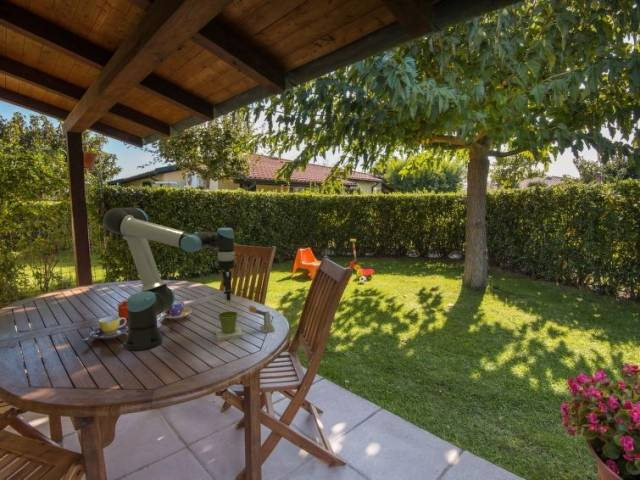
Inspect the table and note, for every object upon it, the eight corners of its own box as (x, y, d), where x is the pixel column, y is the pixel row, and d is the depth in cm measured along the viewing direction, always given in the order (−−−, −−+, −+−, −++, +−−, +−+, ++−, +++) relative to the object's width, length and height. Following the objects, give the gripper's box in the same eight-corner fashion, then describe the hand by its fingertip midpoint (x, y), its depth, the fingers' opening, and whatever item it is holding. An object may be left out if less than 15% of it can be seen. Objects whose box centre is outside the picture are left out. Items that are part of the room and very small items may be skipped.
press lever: (249, 312, 170) (251, 307, 170) (248, 309, 174) (250, 305, 174) (268, 318, 173) (270, 314, 173) (267, 315, 177) (269, 311, 177)
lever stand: (262, 333, 171) (262, 315, 170) (260, 328, 178) (259, 311, 177) (274, 331, 173) (274, 314, 172) (271, 326, 180) (271, 310, 179)
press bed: (217, 340, 162) (216, 337, 162) (216, 332, 173) (216, 329, 173) (242, 337, 166) (242, 334, 166) (240, 329, 177) (240, 326, 176)
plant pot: (233, 335, 165) (232, 317, 164) (215, 334, 167) (214, 316, 166) (241, 328, 174) (241, 311, 173) (224, 327, 176) (223, 310, 175)
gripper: (236, 263, 155) (237, 309, 157) (232, 255, 178) (233, 295, 181) (219, 264, 153) (220, 311, 155) (217, 256, 176) (218, 296, 178)
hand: (227, 302), depth 168 cm, fingers open, 13 cm apart
